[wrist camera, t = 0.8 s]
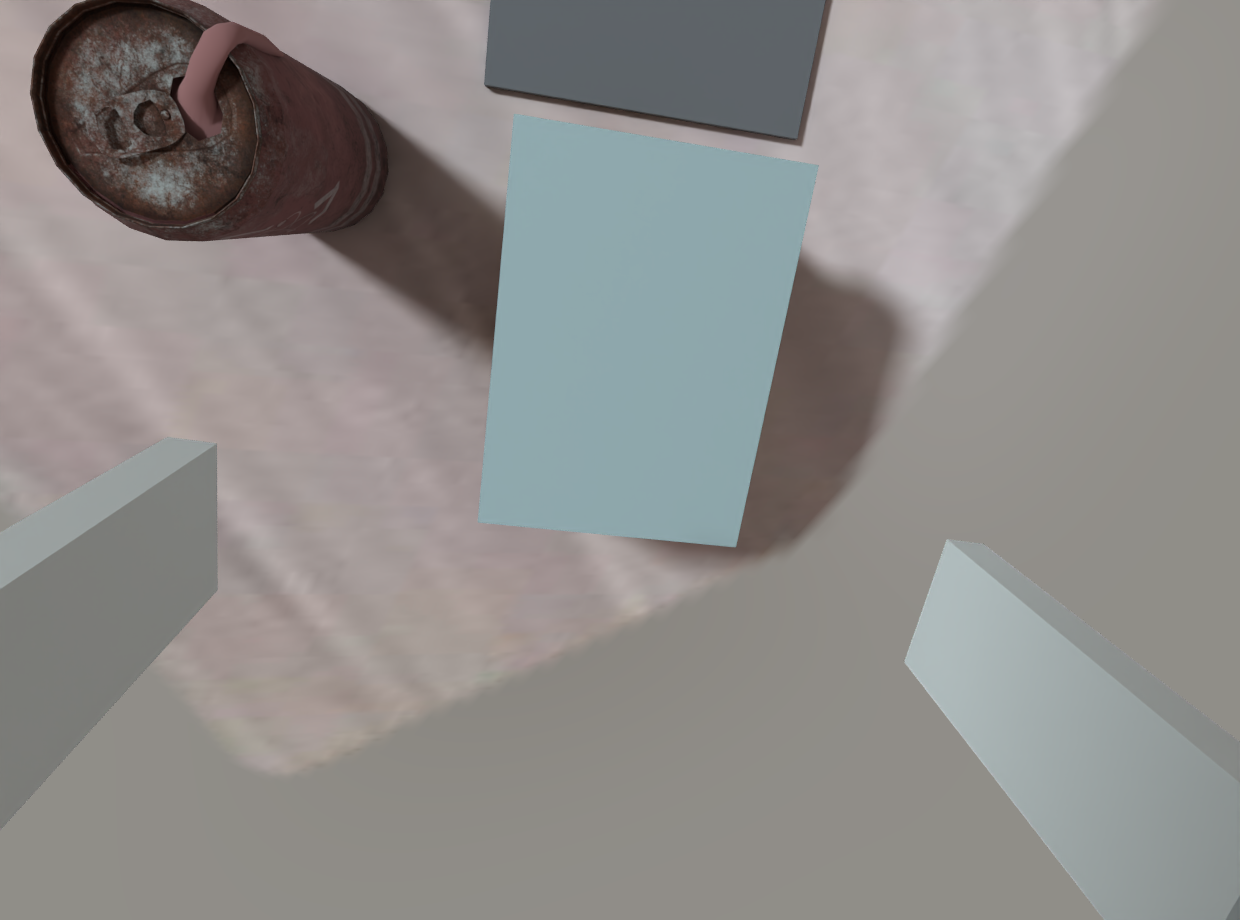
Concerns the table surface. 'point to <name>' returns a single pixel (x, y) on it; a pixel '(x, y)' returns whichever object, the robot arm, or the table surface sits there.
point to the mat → (662, 57)
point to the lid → (636, 331)
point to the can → (200, 125)
